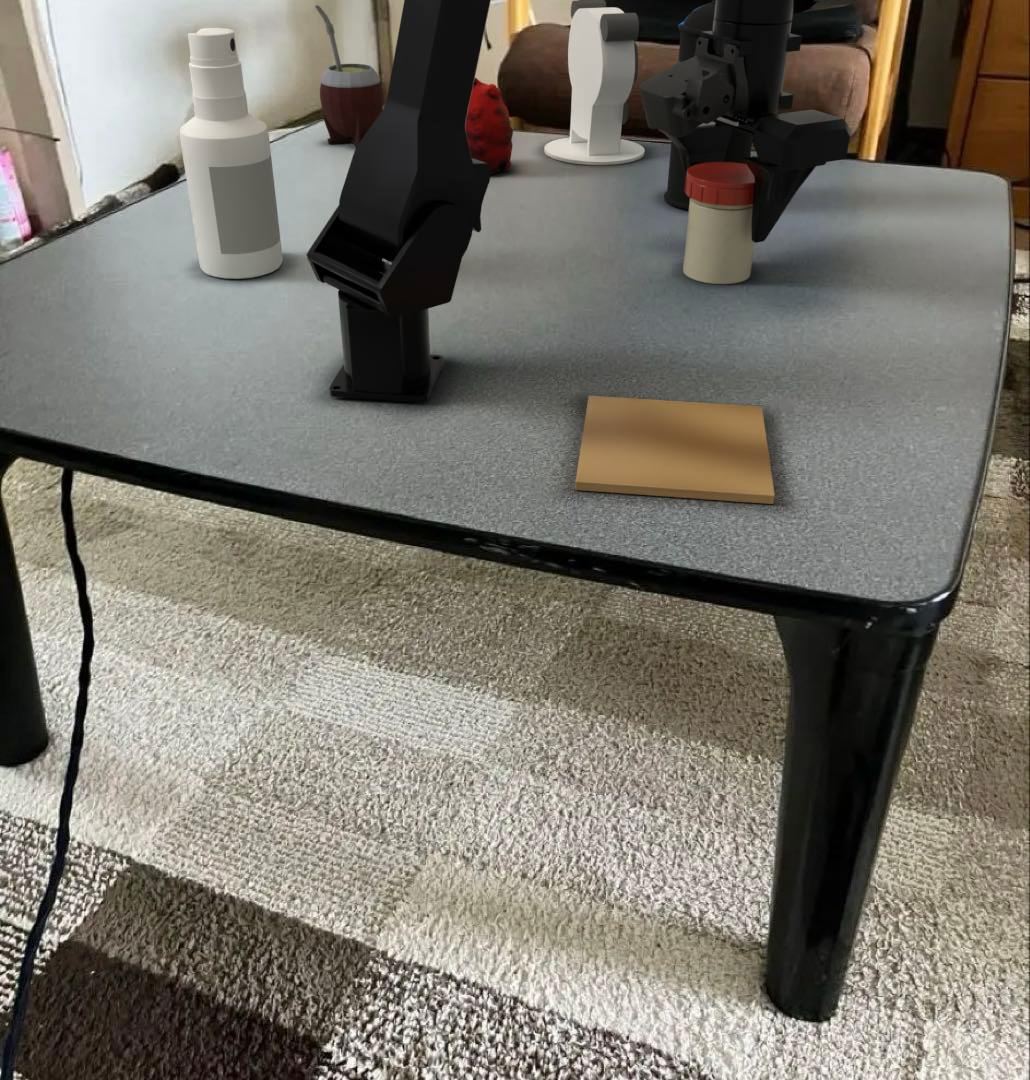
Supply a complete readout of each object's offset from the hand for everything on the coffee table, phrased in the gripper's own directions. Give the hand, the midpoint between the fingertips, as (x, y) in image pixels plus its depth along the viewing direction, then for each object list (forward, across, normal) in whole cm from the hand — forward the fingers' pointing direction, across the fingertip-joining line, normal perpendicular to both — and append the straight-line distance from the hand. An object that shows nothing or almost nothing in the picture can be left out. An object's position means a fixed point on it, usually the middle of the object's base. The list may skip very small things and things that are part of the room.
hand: (727, 227), depth 89 cm
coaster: (+4, +24, -22) cm, 32 cm away
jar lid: (-4, 0, -1) cm, 4 cm away
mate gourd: (+4, -54, -12) cm, 55 cm away
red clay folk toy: (+4, -37, -4) cm, 38 cm away
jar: (+4, 0, -1) cm, 4 cm away
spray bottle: (+4, -19, -36) cm, 41 cm away
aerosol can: (+4, -17, +11) cm, 20 cm away
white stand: (+4, -38, +11) cm, 39 cm away
